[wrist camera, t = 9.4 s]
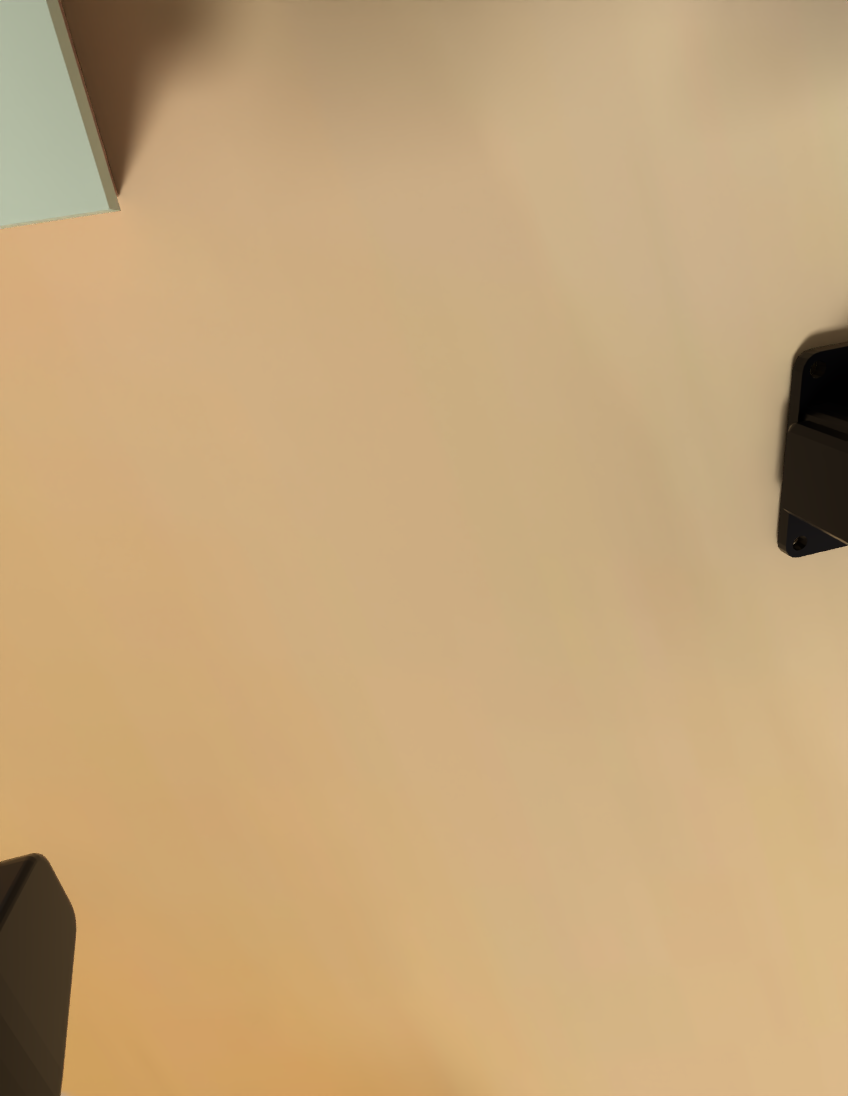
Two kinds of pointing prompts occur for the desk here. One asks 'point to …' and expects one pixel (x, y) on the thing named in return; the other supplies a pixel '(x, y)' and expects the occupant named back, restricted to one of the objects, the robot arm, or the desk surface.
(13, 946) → the robot arm
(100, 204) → the lid
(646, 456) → the desk surface
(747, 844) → the desk surface
